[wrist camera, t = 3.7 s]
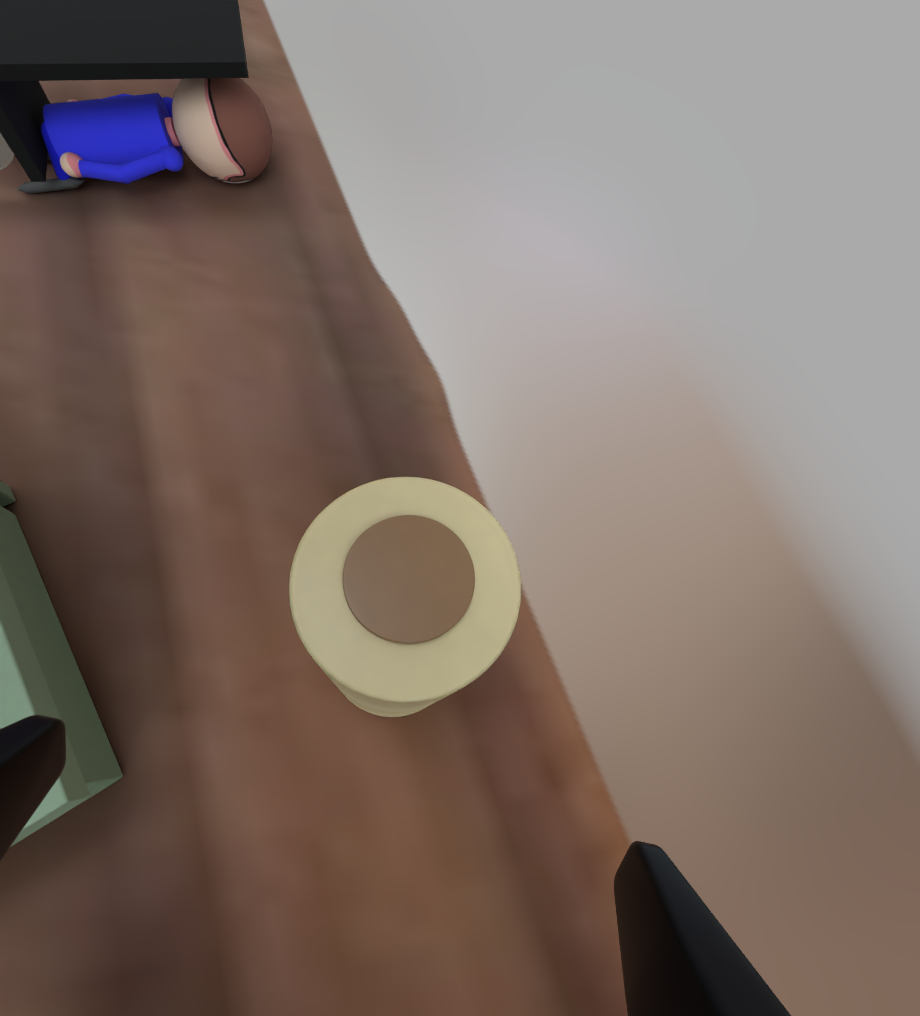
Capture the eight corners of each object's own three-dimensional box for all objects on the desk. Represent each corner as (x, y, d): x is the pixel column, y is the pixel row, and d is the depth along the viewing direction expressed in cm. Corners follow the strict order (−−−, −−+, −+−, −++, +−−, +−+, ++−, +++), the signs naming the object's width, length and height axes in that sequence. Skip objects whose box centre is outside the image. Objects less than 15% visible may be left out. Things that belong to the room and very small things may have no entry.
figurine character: (1, 246, 26) (290, 207, 28) (-158, 73, 19) (241, 38, 21) (12, 164, 28) (276, 134, 30) (-127, -15, 21) (228, -39, 24)
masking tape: (425, 740, 18) (472, 747, 9) (303, 681, 18) (235, 632, 9) (477, 617, 20) (554, 527, 11) (367, 565, 20) (360, 438, 12)
